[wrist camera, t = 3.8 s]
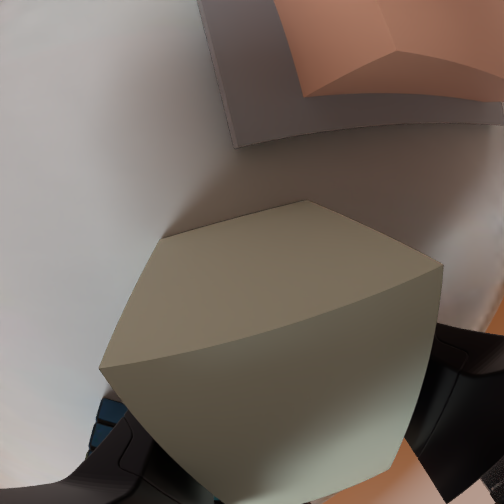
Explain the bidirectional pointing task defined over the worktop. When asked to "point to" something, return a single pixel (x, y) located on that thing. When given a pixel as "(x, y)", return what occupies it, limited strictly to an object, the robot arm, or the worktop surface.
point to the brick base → (354, 64)
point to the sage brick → (277, 351)
